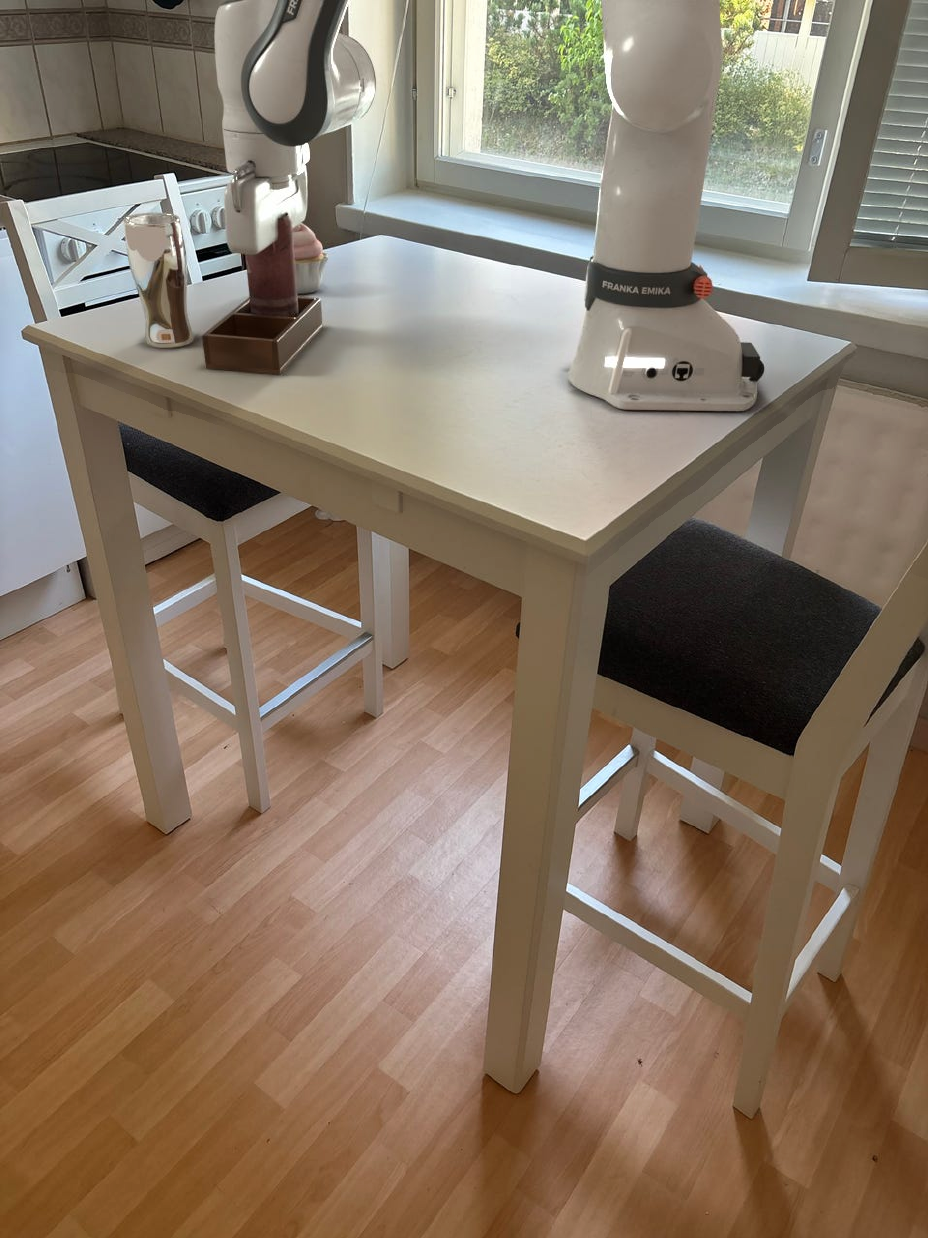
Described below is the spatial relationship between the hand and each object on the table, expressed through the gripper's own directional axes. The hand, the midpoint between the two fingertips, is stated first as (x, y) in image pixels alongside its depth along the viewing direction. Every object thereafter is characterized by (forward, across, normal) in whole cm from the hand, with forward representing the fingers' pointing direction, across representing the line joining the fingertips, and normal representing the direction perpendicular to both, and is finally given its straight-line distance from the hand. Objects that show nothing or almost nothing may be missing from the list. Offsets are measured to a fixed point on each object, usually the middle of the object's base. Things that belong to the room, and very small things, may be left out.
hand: (273, 274), depth 121 cm
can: (+7, 0, 0) cm, 7 cm away
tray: (+8, -4, 0) cm, 9 cm away
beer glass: (+8, -5, +13) cm, 16 cm away
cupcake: (+8, +22, +4) cm, 24 cm away
